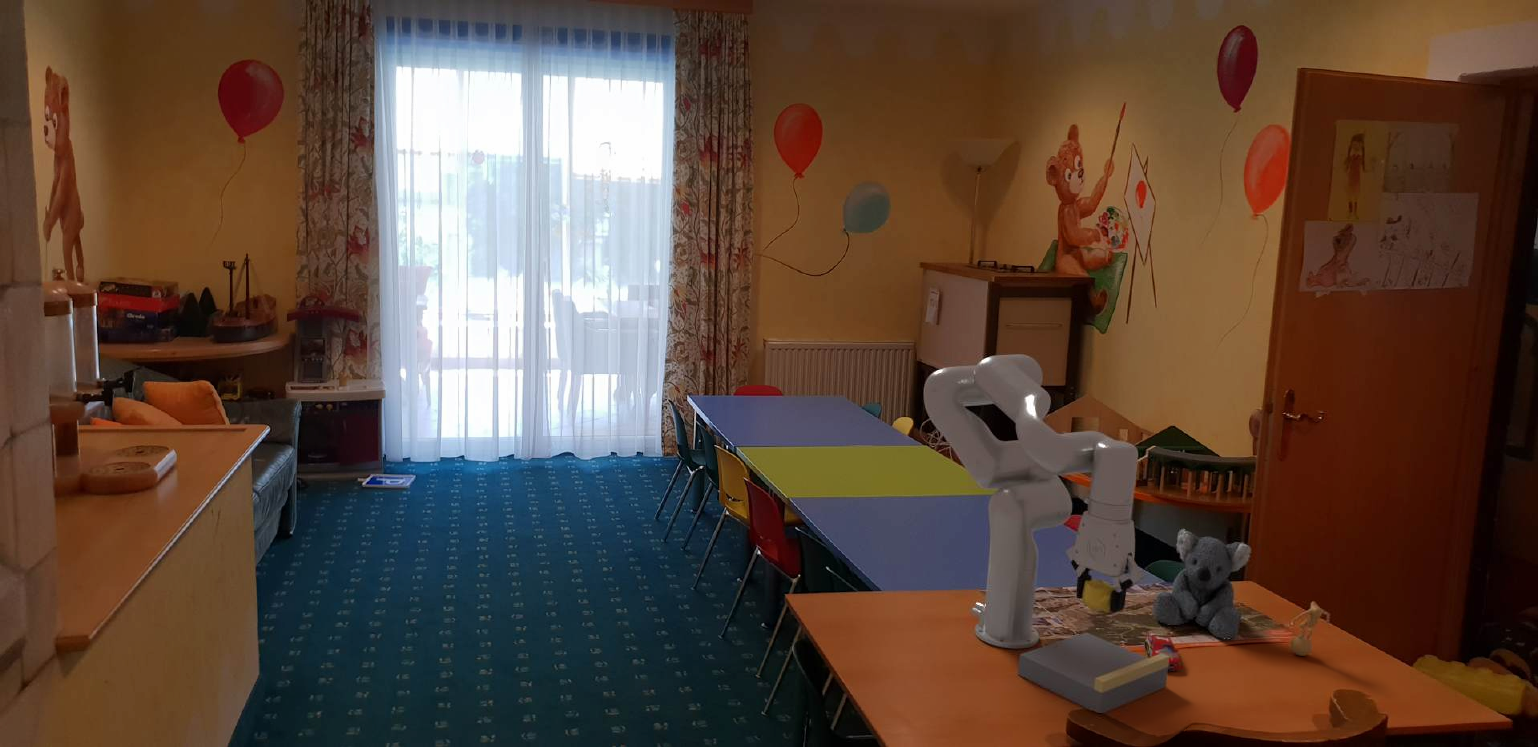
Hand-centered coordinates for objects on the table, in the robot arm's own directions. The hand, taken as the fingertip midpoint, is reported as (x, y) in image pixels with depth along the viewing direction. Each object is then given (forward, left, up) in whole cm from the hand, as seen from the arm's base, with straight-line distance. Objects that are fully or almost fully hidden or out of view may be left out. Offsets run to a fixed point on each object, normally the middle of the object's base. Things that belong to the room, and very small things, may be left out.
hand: (1099, 602), depth 199 cm
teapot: (+1, 0, -1) cm, 1 cm away
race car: (+1, +21, -16) cm, 26 cm away
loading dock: (0, 0, -15) cm, 15 cm away
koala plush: (-6, +46, -15) cm, 49 cm away
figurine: (+16, +47, -15) cm, 52 cm away
